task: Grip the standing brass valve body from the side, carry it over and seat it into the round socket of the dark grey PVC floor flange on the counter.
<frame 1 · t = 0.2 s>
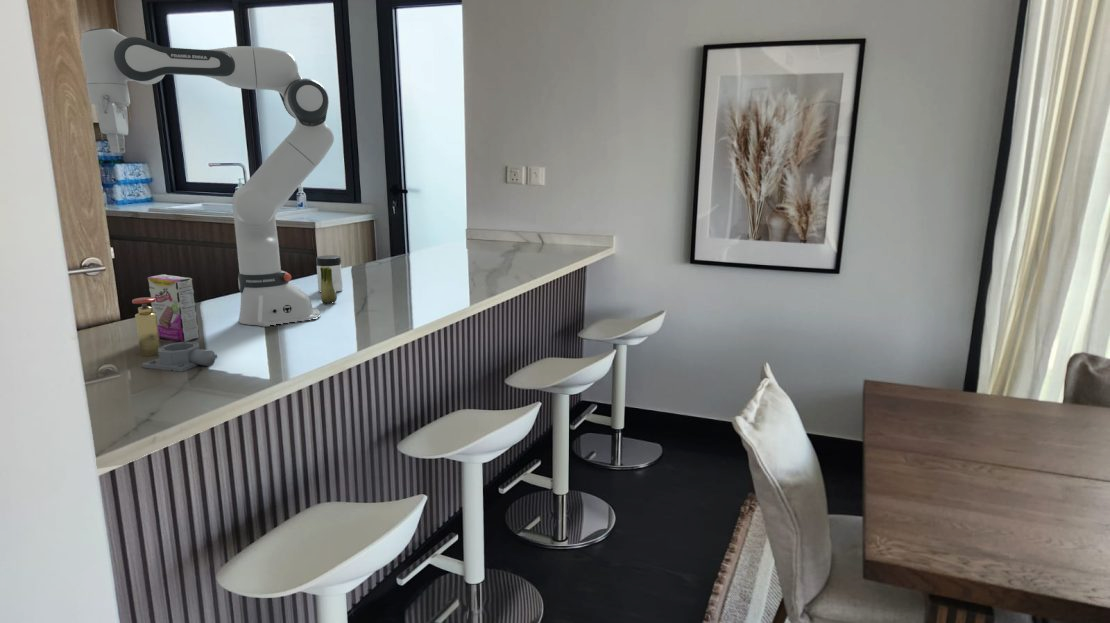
hand: (118, 152, 177), 48 cm above the table, tool pointing down, fingers open, 8 cm apart
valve: (151, 353, 168), on the table
jar: (330, 291, 242), on the table
fitting: (180, 362, 161), on the table
fennel bulb: (329, 303, 223), on the table
candy bar box: (177, 338, 182), on the table
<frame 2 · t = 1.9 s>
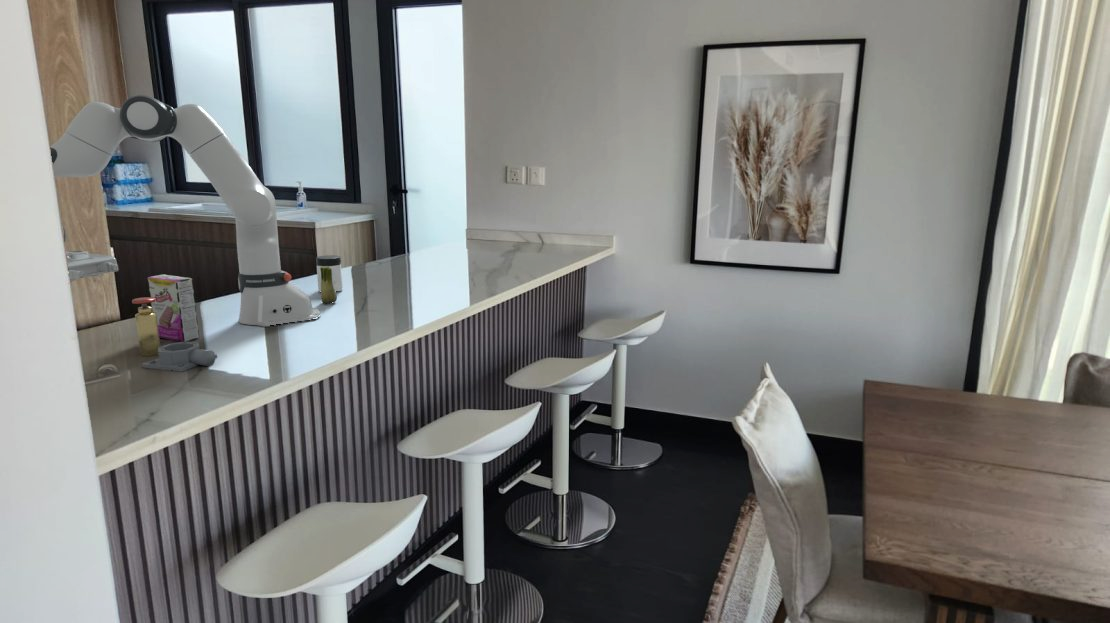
hand: (99, 271, 166), 20 cm above the table, tool horizontal, fingers open, 8 cm apart
nothing on the table moved.
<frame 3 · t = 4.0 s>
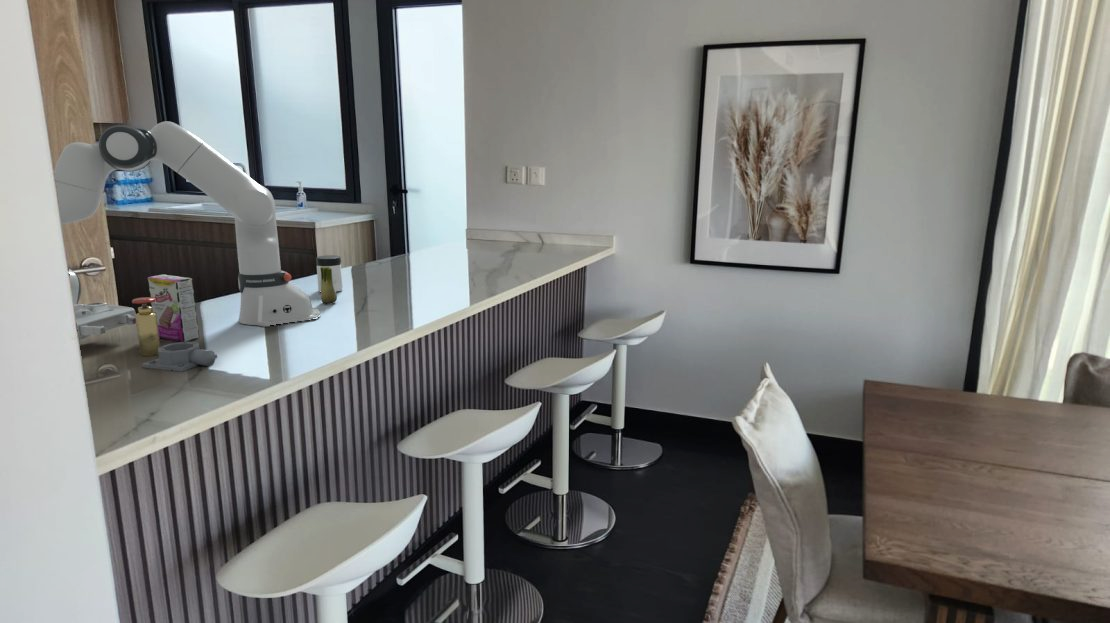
hand: (119, 325, 169), 6 cm above the table, tool horizontal, fingers open, 8 cm apart
nothing on the table moved.
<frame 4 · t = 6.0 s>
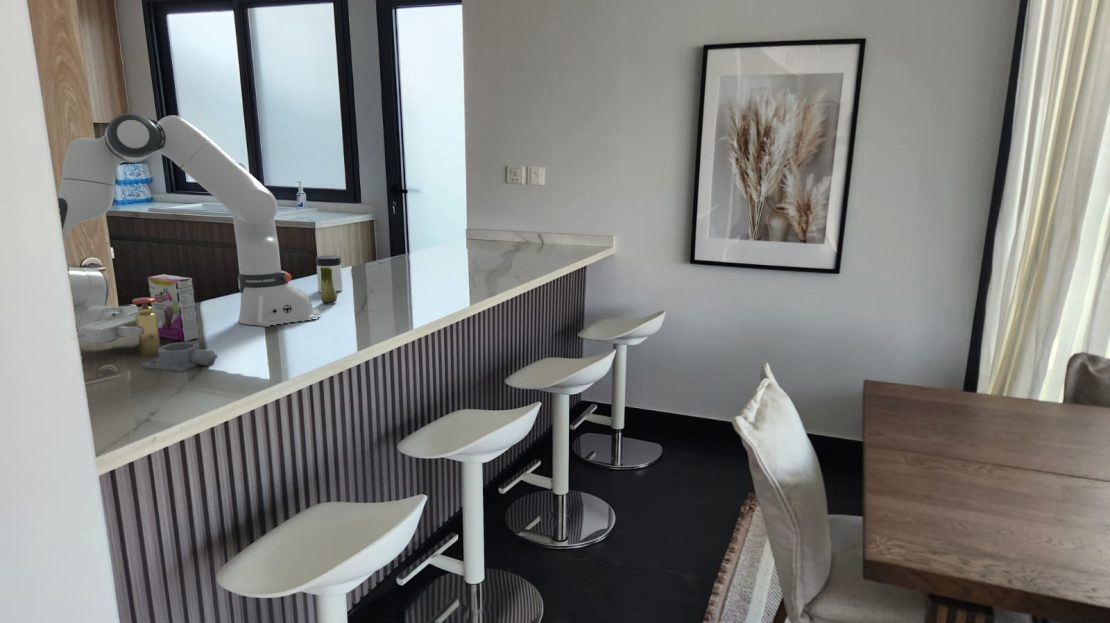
hand: (150, 327, 166), 7 cm above the table, tool horizontal, fingers closed on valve, 4 cm apart
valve: (151, 353, 168), on the table, touching gripper
everything else where it was.
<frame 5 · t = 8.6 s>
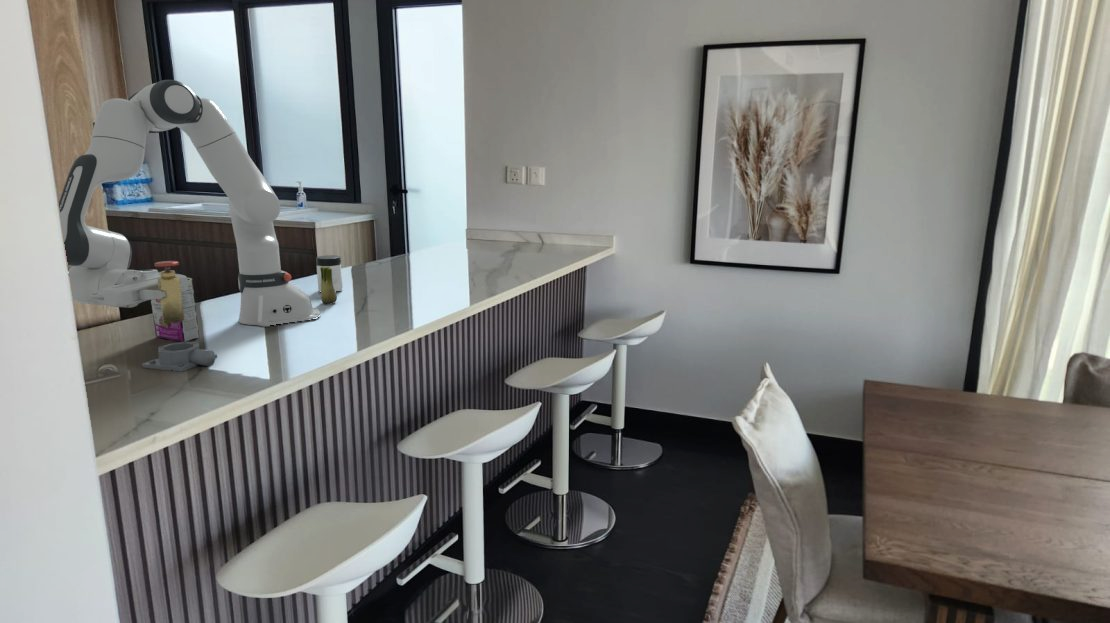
hand: (173, 292, 157), 17 cm above the table, tool horizontal, fingers closed on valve, 4 cm apart
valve: (173, 320, 159), point 10 cm above the table, touching gripper
everything else where it was.
when the fingers open (9 cm above the table, at t = 10.8 s): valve drops 1 cm, resting on fitting.
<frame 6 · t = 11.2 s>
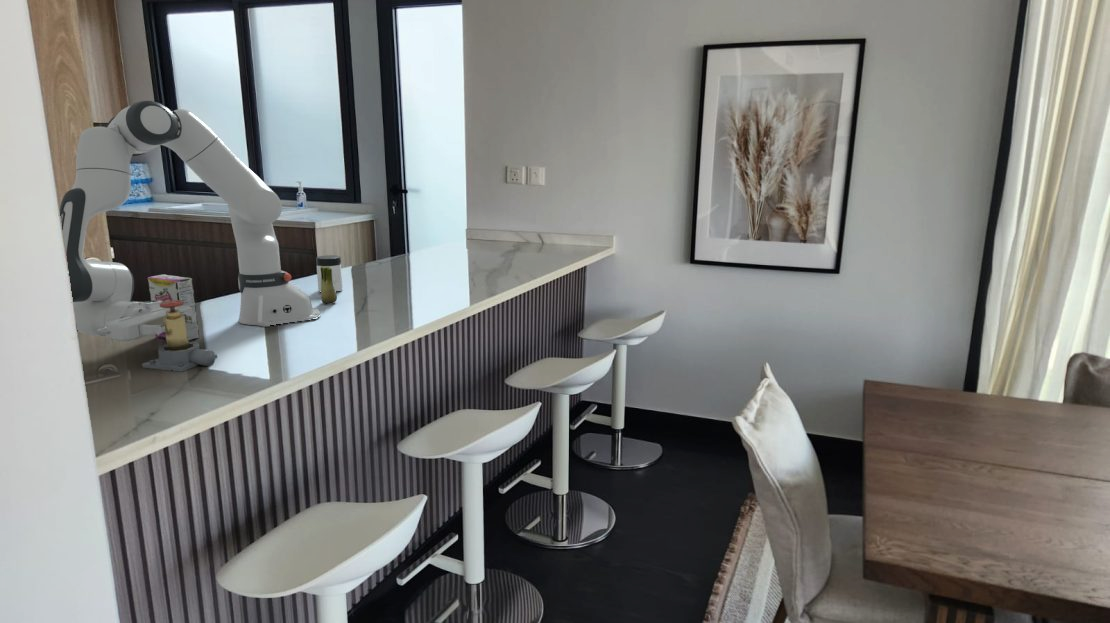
hand: (178, 324, 159), 9 cm above the table, tool horizontal, fingers open, 8 cm apart
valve: (180, 358, 161), point 1 cm above the table, touching fitting
everything else where it was.
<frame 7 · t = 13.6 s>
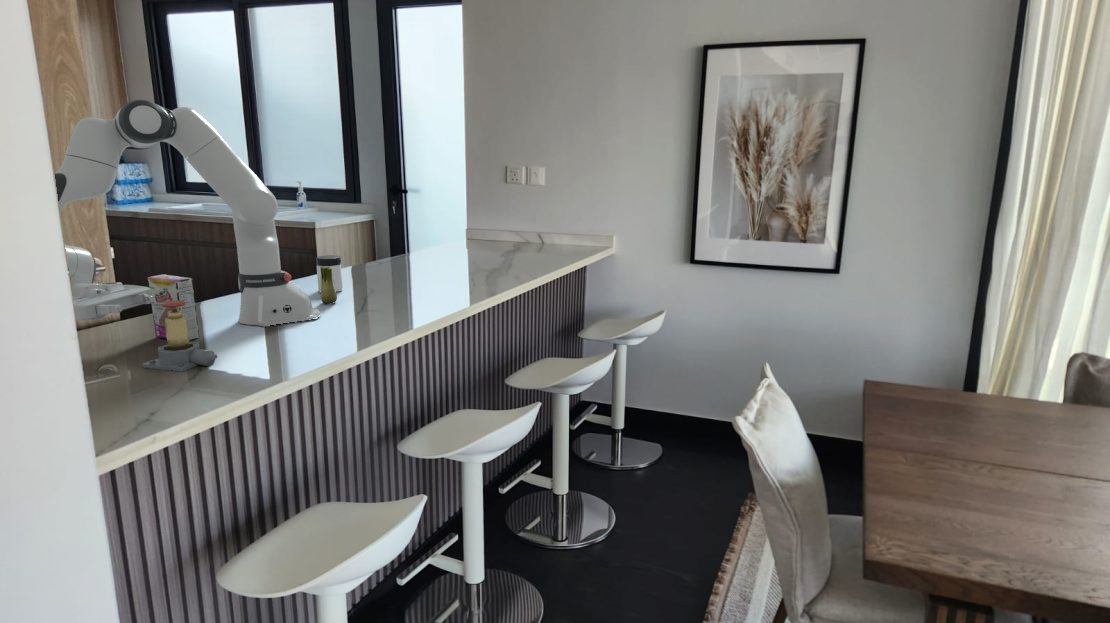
hand: (136, 304, 163), 13 cm above the table, tool horizontal, fingers open, 8 cm apart
nothing on the table moved.
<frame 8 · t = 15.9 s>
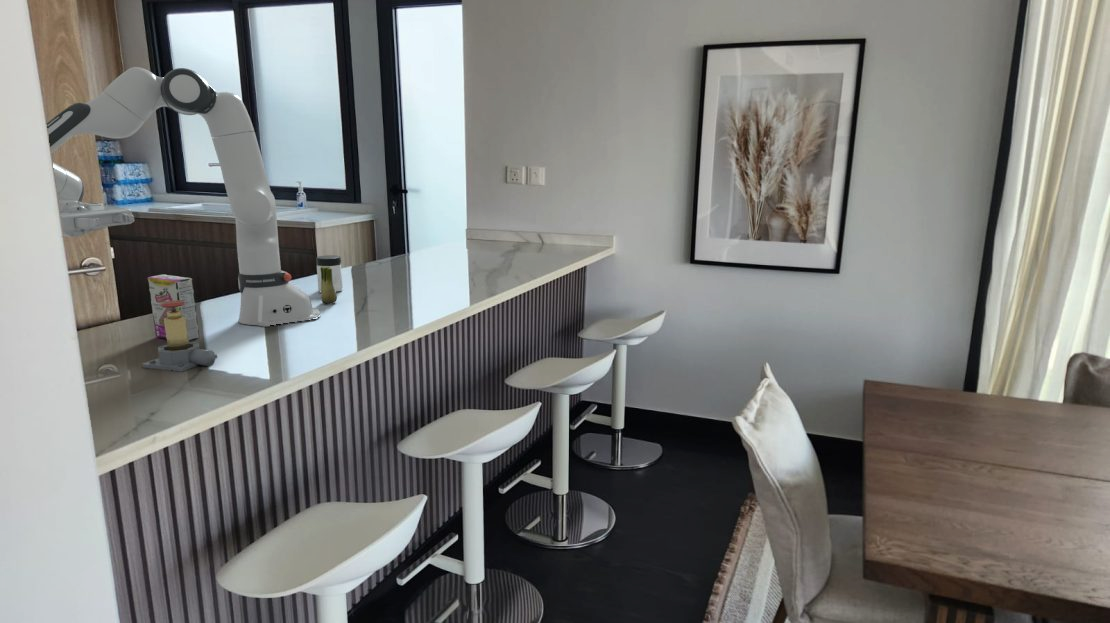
hand: (115, 220, 164), 32 cm above the table, tool horizontal, fingers open, 8 cm apart
nothing on the table moved.
at the end: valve 0.1 cm off-centre on the fitting, point 0.8 cm above the fitting's base; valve tilted 0°; the gripper is holding nothing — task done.
